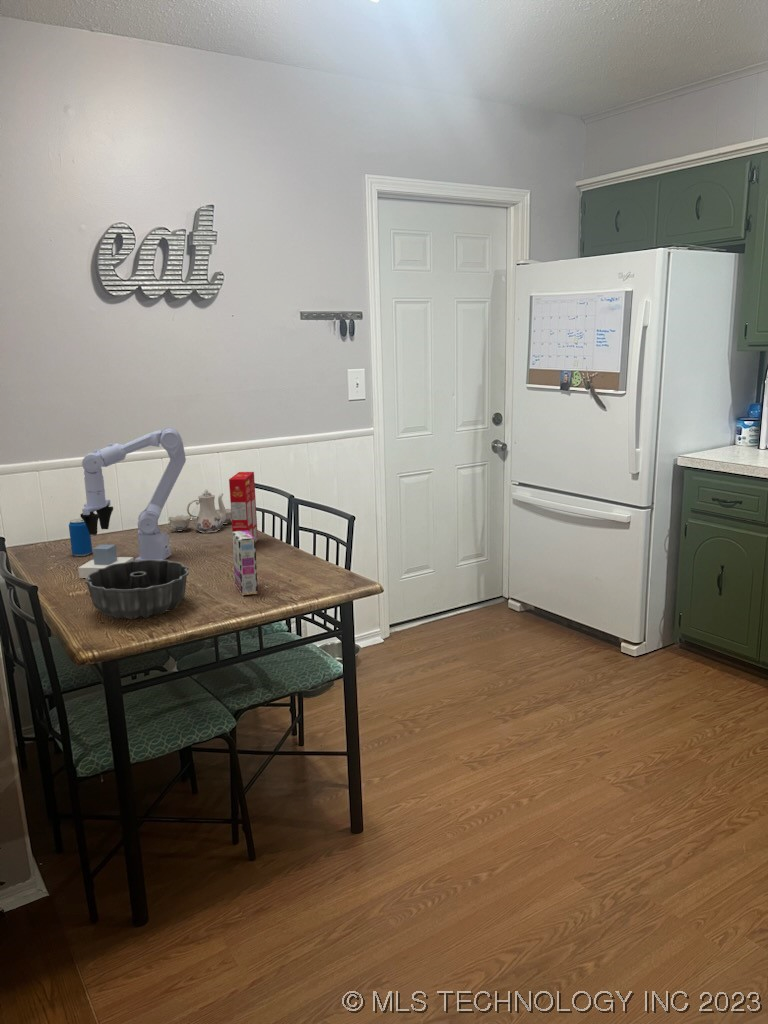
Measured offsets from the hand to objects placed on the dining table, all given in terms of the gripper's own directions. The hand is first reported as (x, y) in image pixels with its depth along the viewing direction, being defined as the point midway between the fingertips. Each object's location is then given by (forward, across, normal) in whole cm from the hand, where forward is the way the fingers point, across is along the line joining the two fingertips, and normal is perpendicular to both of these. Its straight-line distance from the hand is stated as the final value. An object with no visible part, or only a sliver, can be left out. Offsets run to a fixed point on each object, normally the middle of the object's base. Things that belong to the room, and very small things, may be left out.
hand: (99, 531), depth 244 cm
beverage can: (+11, -9, -12) cm, 18 cm away
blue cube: (+7, +11, +7) cm, 15 cm away
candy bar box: (+10, +24, +56) cm, 62 cm away
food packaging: (+10, -23, +41) cm, 49 cm away
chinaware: (+11, -46, +18) cm, 51 cm away
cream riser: (+11, +11, +7) cm, 17 cm away
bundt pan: (+11, +41, +32) cm, 53 cm away
